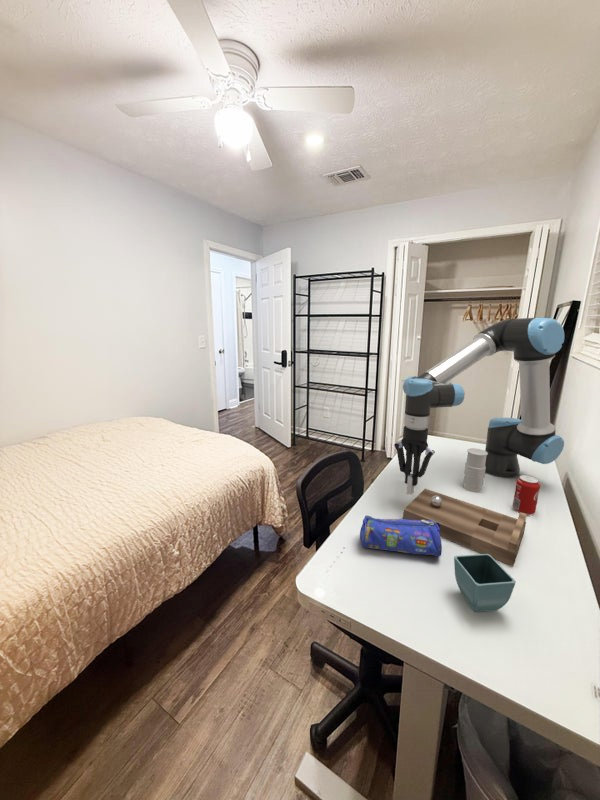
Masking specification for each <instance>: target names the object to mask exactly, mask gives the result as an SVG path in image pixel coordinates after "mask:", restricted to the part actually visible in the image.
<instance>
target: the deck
mask: <svg viewBox="0 0 600 800" xmlns="http://www.w3.org/2000/svg"><path fill="white" fill-rule="evenodd" d="M435 495H437V496H439V497H441V498H442V501H443V503H442V505H441V506H439V507H435V506H433V505H432V503H431V498H432V497H433V496H435ZM402 511H403V512H402V513H403V514H402V519H406V520H420V521H421V520H425V521H434V522H437V523H440V528H439V529H440V533H439V534H440V538H441V537H442V538H443V539H446V540H448V541H451V542H453V543H455V544H457V545H460V546H462V547H465V548H468V549H470V550H471V551H472V550H473V551H475V552H477V553H479V554H489V555H491V556H492V557H493V558H494V559H495V561H499V562H501V563H503V564H506V565H508V566H510V567H514V566H515V563H516V560H517V556H518V554H519V550H520V547H521V545H522V541H523V538H524V536H525V535H524V534H525V530H526V524H527V522H526V520H527V519H526V518H527V515H526V514H525V513H521V512H520V514H518V517H517V518H516V517H512V516H509V515H507V514H504V513H500V512H497V511H493V510H491V509H488V508H485V507H482V506H479V505H476V504H472V503H470V502H466V501H464V500H461V499H458V498H455V497H451V496H449V495H446V494H442V493H440V492H438V491H437V492H436V491H433V490H430V489H427V488H423V490H422V491H421V492H420V493H418V495H417V496H415V498H413V500H411V502H410V503H408V505H406V506H405V507H404V508H403V510H402Z"/></svg>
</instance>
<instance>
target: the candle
mask: <svg viewBox="0 0 600 800" xmlns="http://www.w3.org/2000/svg"><path fill="white" fill-rule="evenodd" d="M466 452H467V454H466V455H467V456H466V457H467V458H466V462H465V466H464V471H463V473H464V475H463V484H464V485H463V488H464V489H465V490H467V491H469V492H473V493H479V492H481V491H482V488H483V487H484V478H485V477H486V472H485V469H486V466H485V463H486V456H487V455H488V453H487V452H486V451H485V449H480V448H475V447H474V448H473V447H472V448H468V449H467V450H466Z"/></svg>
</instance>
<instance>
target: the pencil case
mask: <svg viewBox="0 0 600 800" xmlns="http://www.w3.org/2000/svg"><path fill="white" fill-rule="evenodd" d="M439 528H440V523H437V522H434V521H425V520H421V521H420V520H406V519H403V518H375V517H372V516H371V515H365V516H364V518H363V520H362V524H361V527H360V531H359V537H360V539H359V540H360V543H361V547H362V548H366V549H375V550H382V551H384V550H385V551H389V552H397V553H405V554H414V555H416V554H417V555H426V556H430V555H432V556H435V557H441V556H442V554H443V553H442V551H443V547H442V539H441V537H440V534H439V533H440V529H439Z"/></svg>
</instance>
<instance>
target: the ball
mask: <svg viewBox="0 0 600 800" xmlns="http://www.w3.org/2000/svg"><path fill="white" fill-rule="evenodd" d="M431 503H432V505H433V506H435V507H439V506H441V505H442V503H443V501H442V498H441V497H439V496H437V495H435V496H433V497H432V498H431Z"/></svg>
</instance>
